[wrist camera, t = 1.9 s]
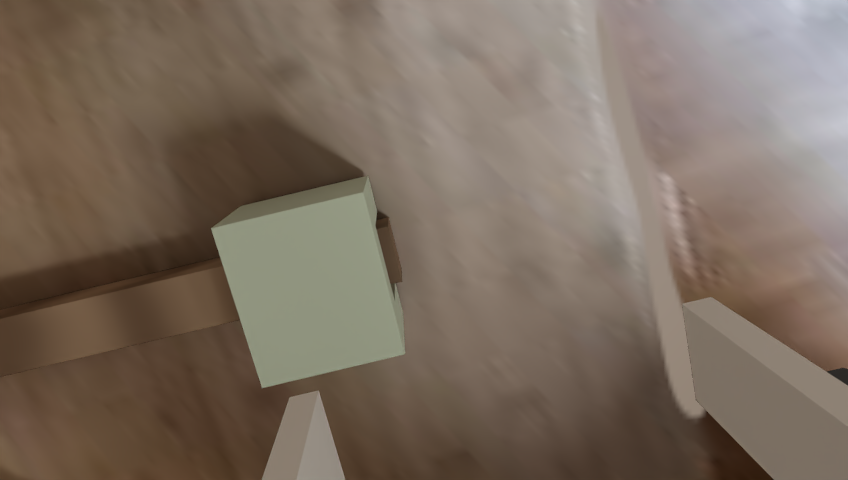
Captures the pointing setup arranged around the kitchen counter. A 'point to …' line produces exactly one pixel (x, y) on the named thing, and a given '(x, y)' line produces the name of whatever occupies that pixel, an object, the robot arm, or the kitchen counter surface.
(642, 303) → the kitchen counter surface
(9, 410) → the kitchen counter surface
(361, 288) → the slider
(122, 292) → the rail
